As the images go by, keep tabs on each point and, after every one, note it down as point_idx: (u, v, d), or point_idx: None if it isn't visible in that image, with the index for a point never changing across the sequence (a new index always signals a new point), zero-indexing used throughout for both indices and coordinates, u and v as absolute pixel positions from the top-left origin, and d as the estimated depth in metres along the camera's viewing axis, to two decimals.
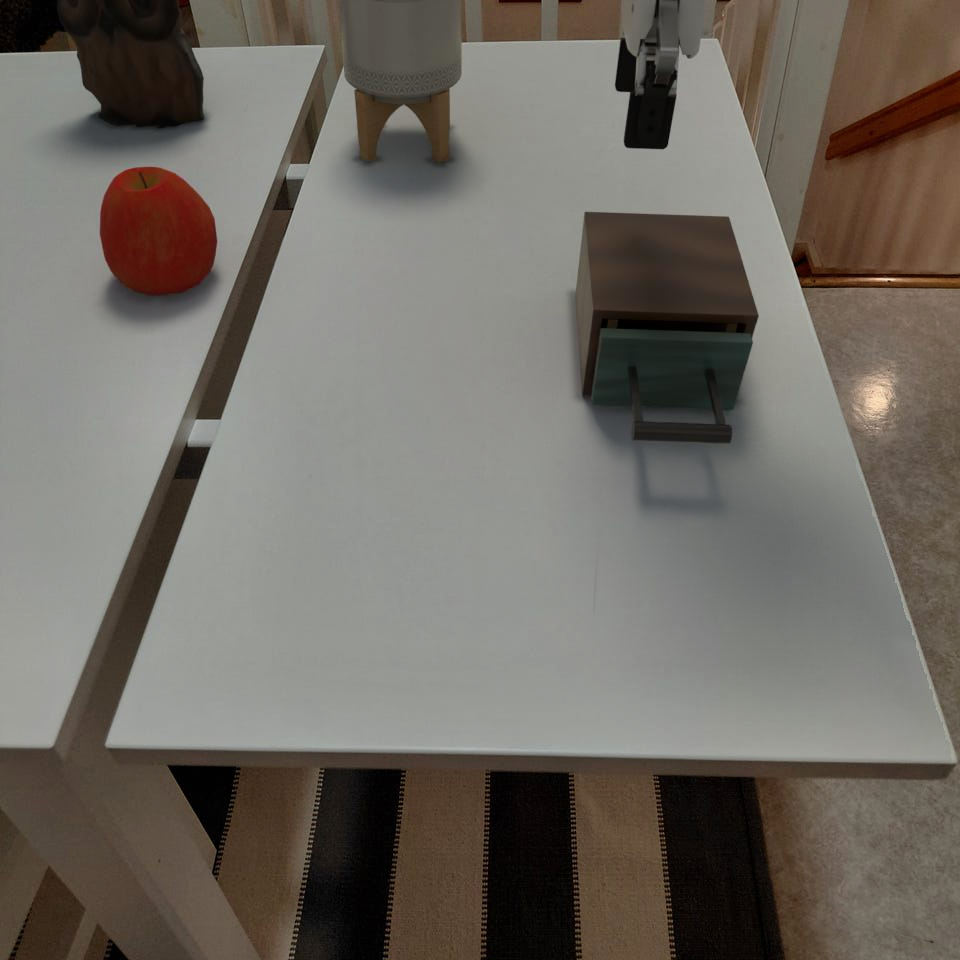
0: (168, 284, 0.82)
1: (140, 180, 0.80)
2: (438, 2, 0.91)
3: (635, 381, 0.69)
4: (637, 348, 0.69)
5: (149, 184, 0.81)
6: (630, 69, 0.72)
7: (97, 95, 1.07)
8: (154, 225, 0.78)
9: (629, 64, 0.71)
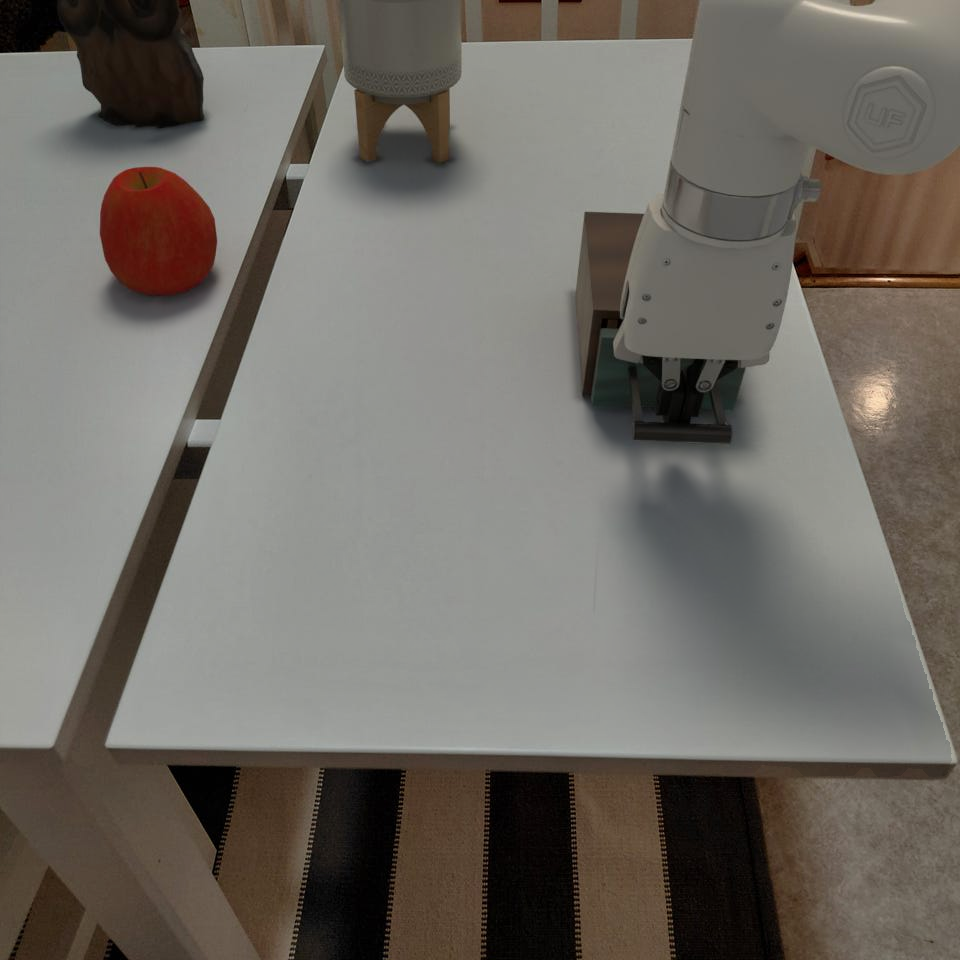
0: (168, 284, 0.82)
1: (140, 180, 0.80)
2: (438, 2, 0.91)
3: (635, 382, 0.69)
4: None
5: (149, 184, 0.81)
6: None
7: (97, 95, 1.07)
8: (154, 225, 0.78)
9: None
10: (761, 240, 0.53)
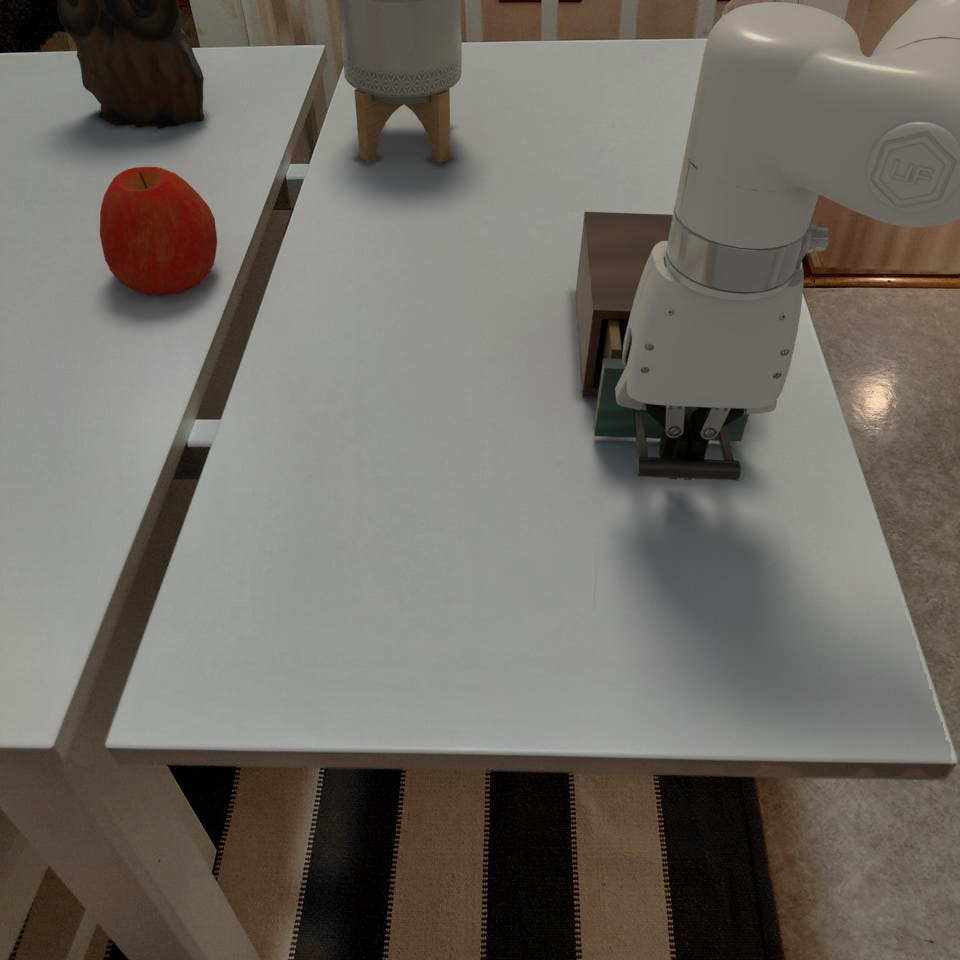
0: (168, 284, 0.82)
1: (140, 180, 0.80)
2: (438, 2, 0.91)
3: (639, 414, 0.66)
4: None
5: (149, 184, 0.81)
6: None
7: (97, 95, 1.07)
8: (154, 225, 0.78)
9: None
10: (768, 292, 0.51)
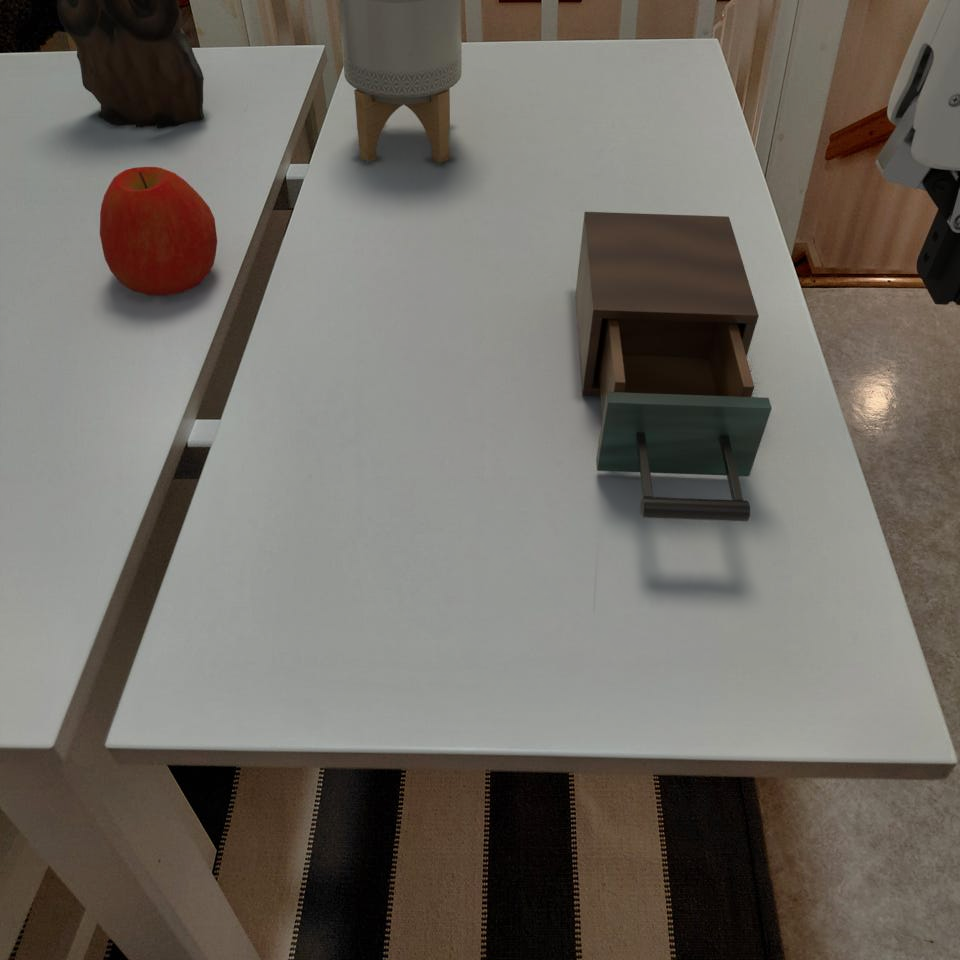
0: (168, 284, 0.82)
1: (140, 180, 0.80)
2: (438, 2, 0.91)
3: (644, 450, 0.63)
4: (647, 414, 0.64)
5: (149, 184, 0.81)
6: None
7: (97, 95, 1.07)
8: (154, 225, 0.78)
9: None
10: None
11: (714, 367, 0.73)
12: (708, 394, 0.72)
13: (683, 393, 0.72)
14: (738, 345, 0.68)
